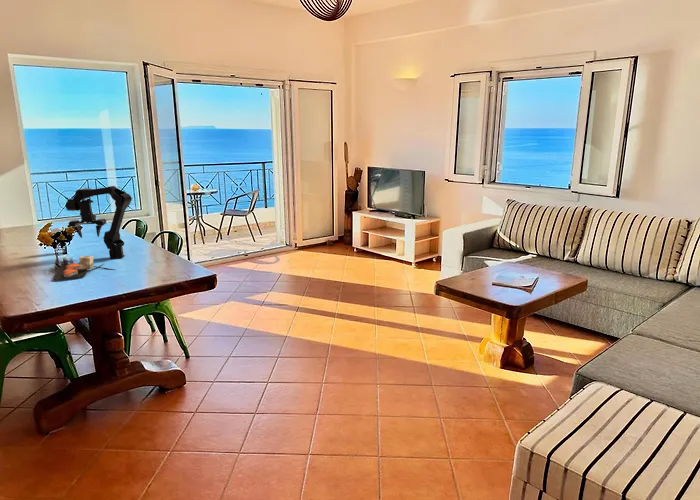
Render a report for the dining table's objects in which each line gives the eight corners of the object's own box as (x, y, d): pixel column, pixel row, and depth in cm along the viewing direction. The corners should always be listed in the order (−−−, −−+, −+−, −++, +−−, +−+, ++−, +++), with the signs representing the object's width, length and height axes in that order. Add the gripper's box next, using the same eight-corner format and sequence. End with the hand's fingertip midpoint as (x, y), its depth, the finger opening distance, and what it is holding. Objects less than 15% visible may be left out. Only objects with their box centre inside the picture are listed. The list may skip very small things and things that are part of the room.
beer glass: (62, 254, 289) (58, 230, 286) (52, 254, 291) (48, 230, 287) (71, 251, 296) (66, 228, 292) (61, 251, 297) (57, 227, 294)
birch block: (93, 267, 257) (93, 256, 256) (89, 269, 252) (89, 258, 251) (83, 266, 256) (83, 255, 255) (79, 268, 251) (79, 257, 250)
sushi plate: (60, 268, 262) (59, 262, 261) (121, 261, 273) (120, 255, 272) (52, 283, 236) (51, 276, 235) (119, 275, 248) (118, 268, 247)
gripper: (107, 207, 284) (111, 233, 288) (73, 209, 282) (78, 235, 286) (101, 210, 274) (105, 237, 278) (66, 212, 271) (70, 239, 275)
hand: (89, 237), depth 279 cm, fingers open, 9 cm apart
